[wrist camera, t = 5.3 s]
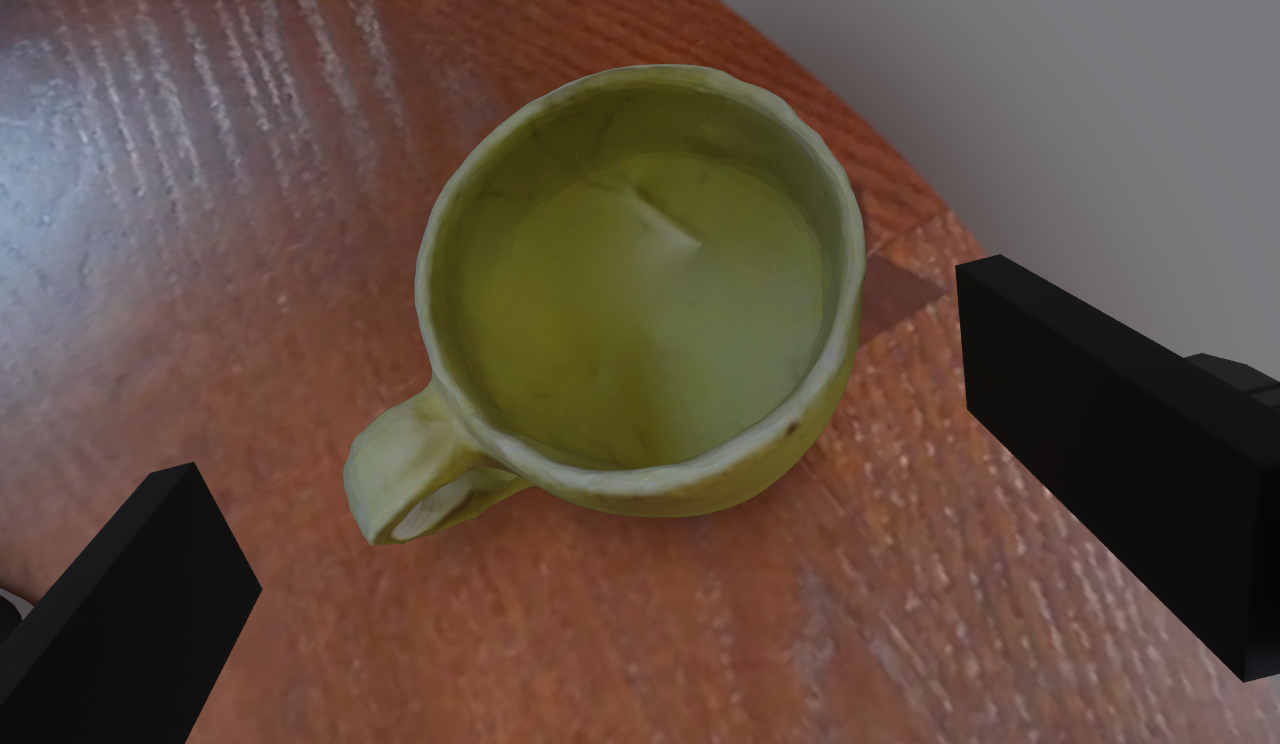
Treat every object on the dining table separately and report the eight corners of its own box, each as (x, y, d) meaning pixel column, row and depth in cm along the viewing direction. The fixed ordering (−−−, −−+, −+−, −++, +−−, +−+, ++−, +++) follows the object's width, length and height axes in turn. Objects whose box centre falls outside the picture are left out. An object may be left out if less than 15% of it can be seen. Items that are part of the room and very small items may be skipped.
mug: (741, 89, 25) (730, -84, 15) (907, 398, 24) (1011, 433, 14) (392, 289, 26) (173, 254, 16) (543, 582, 26) (412, 726, 16)
